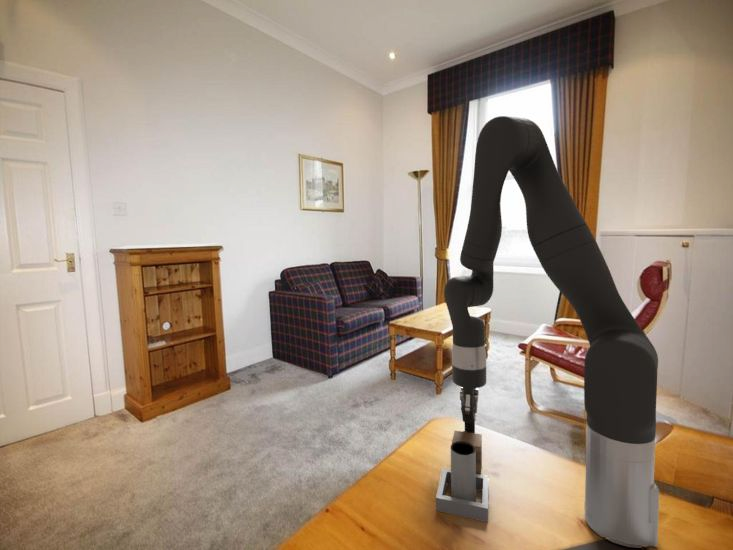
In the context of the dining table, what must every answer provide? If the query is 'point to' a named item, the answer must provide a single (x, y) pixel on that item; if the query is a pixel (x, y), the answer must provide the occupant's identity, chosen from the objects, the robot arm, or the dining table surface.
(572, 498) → the dining table surface
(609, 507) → the robot arm
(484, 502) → the grey open frame
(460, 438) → the guide block
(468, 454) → the grey cylinder
